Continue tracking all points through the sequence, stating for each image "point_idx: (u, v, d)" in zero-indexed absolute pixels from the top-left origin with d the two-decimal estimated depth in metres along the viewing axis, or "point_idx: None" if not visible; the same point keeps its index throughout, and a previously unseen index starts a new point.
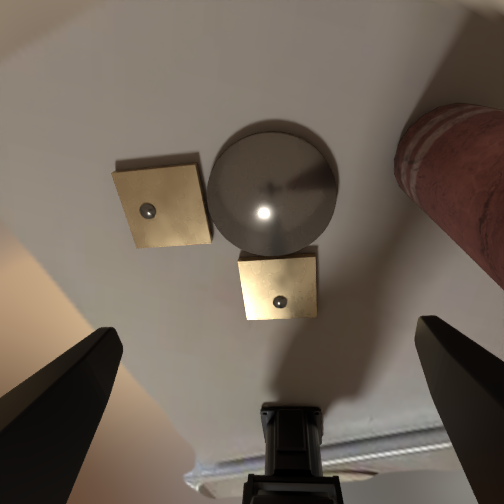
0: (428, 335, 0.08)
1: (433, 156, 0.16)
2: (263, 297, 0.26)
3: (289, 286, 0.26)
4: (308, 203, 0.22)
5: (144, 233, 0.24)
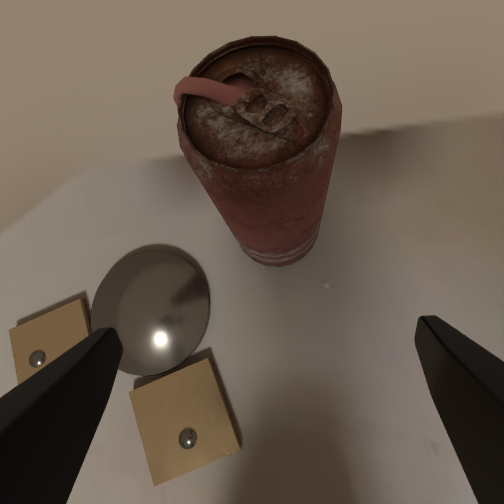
0: (428, 335, 0.08)
1: None
2: (166, 436, 0.21)
3: (192, 408, 0.21)
4: (182, 301, 0.23)
5: None
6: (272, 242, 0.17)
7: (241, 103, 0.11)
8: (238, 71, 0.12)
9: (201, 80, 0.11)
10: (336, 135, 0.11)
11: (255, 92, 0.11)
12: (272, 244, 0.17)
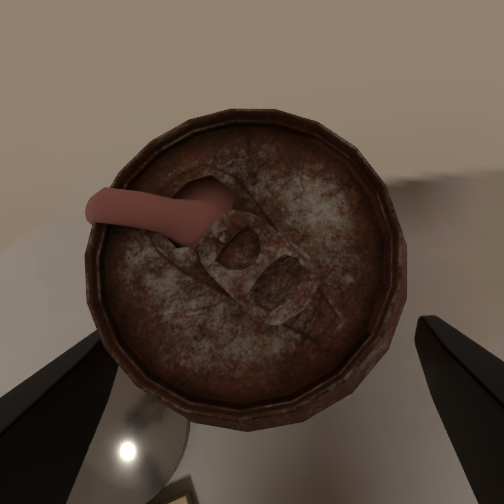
0: (428, 335, 0.08)
1: None
2: None
3: None
4: (153, 411, 0.17)
5: None
6: None
7: (211, 241, 0.06)
8: (207, 174, 0.06)
9: (132, 199, 0.06)
10: (400, 314, 0.05)
11: (238, 222, 0.06)
12: None
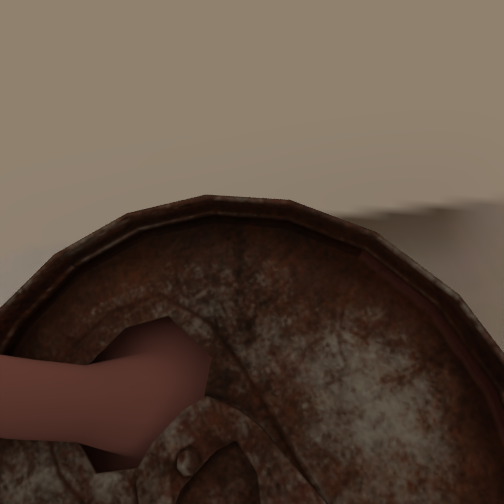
0: None
1: None
2: None
3: None
4: None
5: None
6: None
7: (163, 465, 0.03)
8: (161, 315, 0.03)
9: (4, 385, 0.03)
10: None
11: (216, 430, 0.03)
12: None
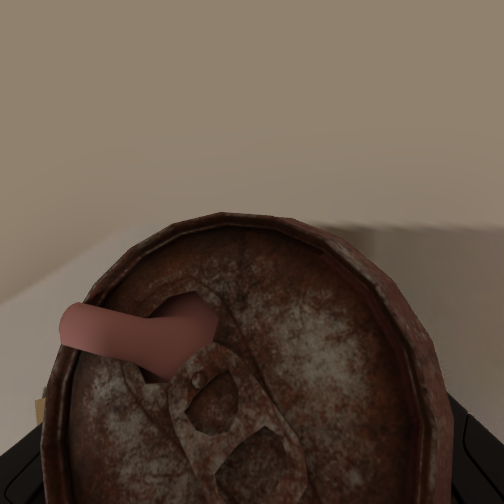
0: None
1: None
2: None
3: None
4: None
5: None
6: None
7: (185, 382, 0.05)
8: (190, 289, 0.05)
9: (99, 323, 0.05)
10: None
11: (217, 362, 0.05)
12: None
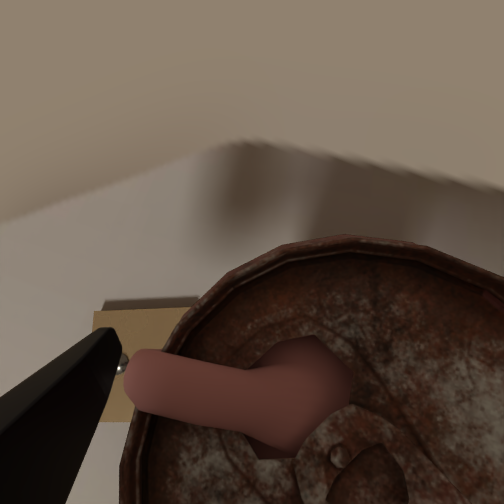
0: None
1: None
2: None
3: None
4: None
5: None
6: None
7: (317, 457, 0.04)
8: (307, 333, 0.04)
9: (196, 382, 0.04)
10: None
11: (363, 432, 0.04)
12: None
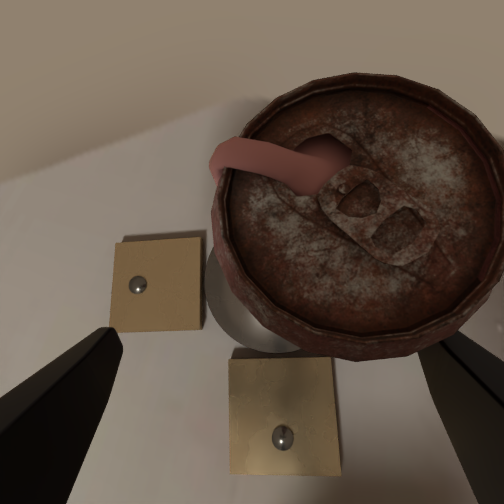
0: None
1: None
2: (258, 425, 0.18)
3: (296, 407, 0.18)
4: None
5: (125, 312, 0.21)
6: None
7: (330, 192, 0.06)
8: (325, 132, 0.07)
9: (263, 148, 0.06)
10: None
11: (357, 176, 0.06)
12: None
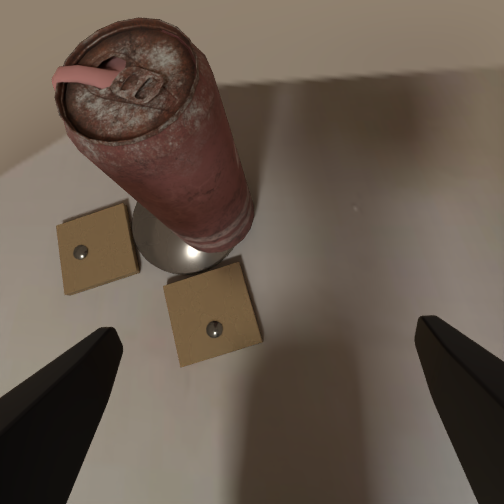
0: (428, 335, 0.08)
1: None
2: (195, 326, 0.23)
3: (220, 304, 0.23)
4: None
5: (74, 275, 0.25)
6: (195, 222, 0.17)
7: (116, 83, 0.12)
8: (111, 55, 0.12)
9: (74, 67, 0.12)
10: (209, 99, 0.12)
11: (128, 71, 0.12)
12: (198, 225, 0.18)
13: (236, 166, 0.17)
